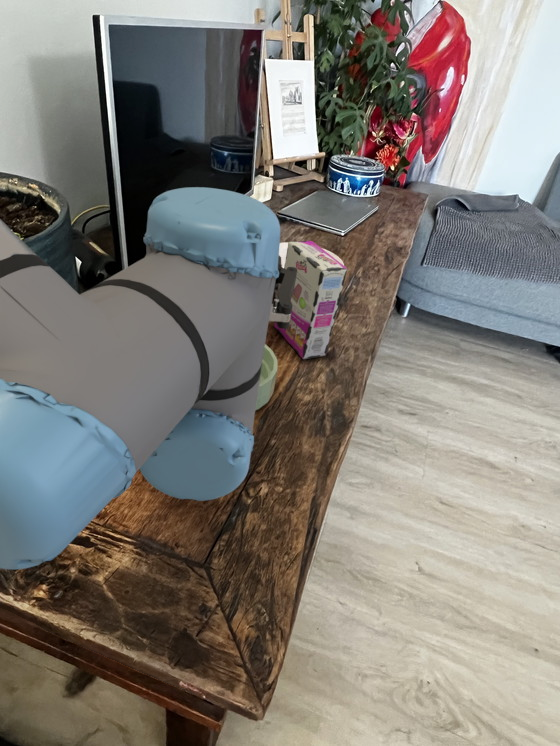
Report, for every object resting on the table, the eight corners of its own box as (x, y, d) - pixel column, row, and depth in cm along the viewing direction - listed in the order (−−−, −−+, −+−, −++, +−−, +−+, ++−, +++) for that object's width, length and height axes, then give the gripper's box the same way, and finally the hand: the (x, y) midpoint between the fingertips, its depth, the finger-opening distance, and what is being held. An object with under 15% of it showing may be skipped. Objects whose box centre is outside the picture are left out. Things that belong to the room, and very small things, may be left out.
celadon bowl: (165, 412, 67) (165, 384, 65) (182, 351, 79) (183, 325, 76) (272, 424, 69) (277, 396, 66) (273, 362, 81) (277, 337, 78)
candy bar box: (327, 356, 85) (349, 268, 75) (302, 361, 82) (322, 270, 73) (296, 322, 92) (312, 238, 82) (272, 326, 90) (286, 240, 80)
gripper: (102, 362, 45) (153, 260, 64) (321, 388, 47) (310, 281, 65) (96, 289, 41) (153, 202, 59) (338, 321, 43) (321, 227, 61)
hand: (235, 244), depth 62 cm, fingers closed on coffee cup, 8 cm apart
